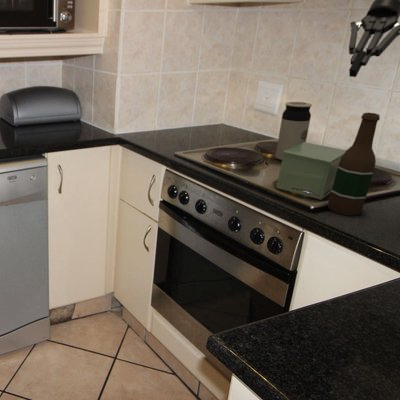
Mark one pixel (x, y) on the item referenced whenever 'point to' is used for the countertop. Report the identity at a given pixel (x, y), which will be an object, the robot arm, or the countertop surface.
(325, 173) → the green open box
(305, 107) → the travel mug
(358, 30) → the robot arm
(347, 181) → the beer bottle
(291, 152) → the canister lid
